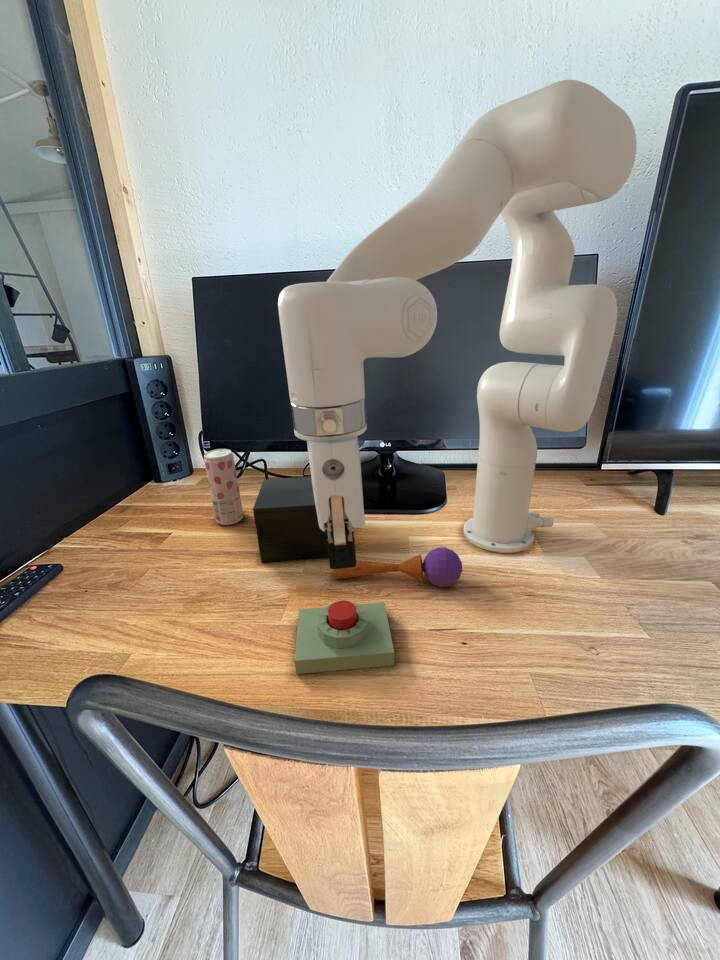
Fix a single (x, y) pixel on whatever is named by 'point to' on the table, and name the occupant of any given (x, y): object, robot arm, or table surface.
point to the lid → (285, 495)
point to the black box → (290, 536)
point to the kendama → (413, 567)
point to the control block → (343, 640)
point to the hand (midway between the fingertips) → (342, 563)
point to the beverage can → (223, 486)
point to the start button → (342, 615)
